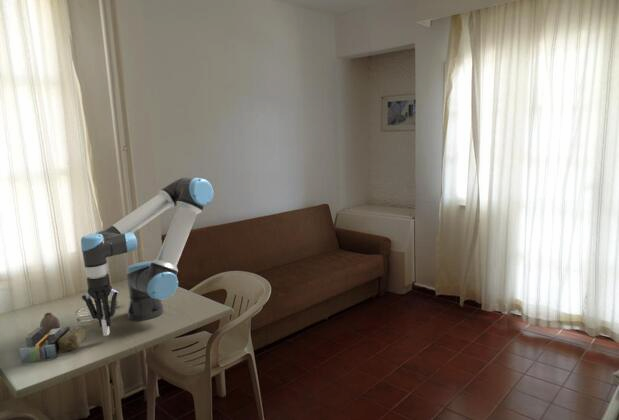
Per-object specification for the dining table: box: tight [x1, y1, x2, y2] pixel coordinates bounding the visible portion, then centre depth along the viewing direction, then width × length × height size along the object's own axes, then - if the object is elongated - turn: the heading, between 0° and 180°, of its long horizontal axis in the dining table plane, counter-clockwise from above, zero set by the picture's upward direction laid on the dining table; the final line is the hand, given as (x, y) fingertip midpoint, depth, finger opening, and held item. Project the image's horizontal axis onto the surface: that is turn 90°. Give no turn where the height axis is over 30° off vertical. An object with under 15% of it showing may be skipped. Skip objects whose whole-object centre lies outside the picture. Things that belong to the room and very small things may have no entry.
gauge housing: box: [18, 326, 58, 363], centre depth 159 cm, size 12×14×7 cm
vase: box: [39, 312, 61, 336], centre depth 174 cm, size 7×7×9 cm
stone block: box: [58, 326, 86, 353], centre depth 163 cm, size 6×12×5 cm, turn 5°
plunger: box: [36, 326, 71, 359], centre depth 160 cm, size 4×18×6 cm, turn 8°
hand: (106, 334), depth 164 cm, fingers closed
